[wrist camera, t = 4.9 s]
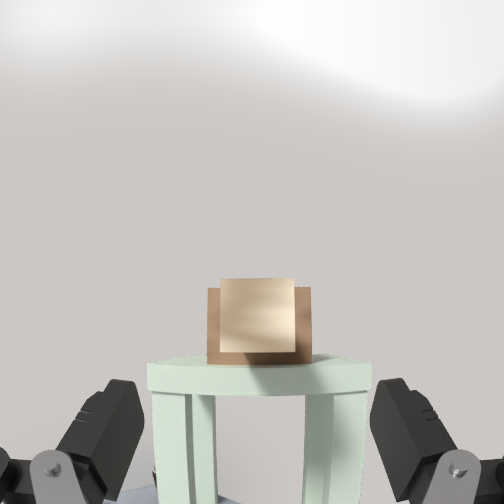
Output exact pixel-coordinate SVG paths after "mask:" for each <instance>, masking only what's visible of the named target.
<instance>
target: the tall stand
mask: <svg viewBox="0 0 504 504" xmlns="http://www.w3.org/2000/svg"><path fill="white" fill-rule="evenodd" d="M371 389H372V362H366V361H361V360H355V359H350V358H345V357H340V356H335V355H330V354H319V355H312V364H298V365H207V355H190V356H185V357H180V358H175V359H170V360H165V361H160V362H154V363H149V364H147V390H148V391H152V415H153V416H152V417H153V438H154V454H155V467H156V479H157V490H158V499H159V504H218V490H217V463H216V462H217V461H216V414H215V395H222V396H288V395H289V396H291V395H305V442H304V471H303V492H302V504H359V502H360V493H361V485H362V475H363V464H364V452H365V436H366V417H367V416H366V415H367V390H371Z"/></svg>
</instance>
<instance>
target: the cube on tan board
mask: <svg viewBox="0 0 504 504" xmlns="http://www.w3.org/2000/svg"><path fill="white" fill-rule="evenodd" d="M220 286H221V287H220V288H208V314H207V315H208V316H207V365H298V364H312V325H311V291H310V290H311V289H310V287H297V288H296V287H294V278H273V279H272V278H271V279H270V278H266V279H221V284H220Z"/></svg>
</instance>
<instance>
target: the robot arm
mask: <svg viewBox="0 0 504 504" xmlns="http://www.w3.org/2000/svg"><path fill="white" fill-rule="evenodd" d="M370 428H371V432H372V434H373V437H374V440H375V443H376V445H377V448H378V451H379V454H380V456H381V459H382V462H383V465H384V467H385V470H386V473H387V475H388V479H389V481H390V484H391V487H392V490H393V493H394V496H395V499H396V502H401V501H405V500H409V502H410V504H504V456H503V458H502V459H494V460H479V459H478V458H477V457H476V456H475V455H474V454H472V453H471V452H468V451H466V450H458V449H457V447H456V445H455V444H454V442H453V440H452V438H451V437H450V435H449V433H448V432H447V430H446V429H445V427H444V425H443V423H442V422H441V420H440V419H438V415H437V414H436V412H435V411H433V407H432V406H431V404H430V402H429V401H428V399H427V398H426V397H425V396H423V395H422V394H421V393H419V392H418V391H417V390H413V391H410V390H409V388H408V386H407V385H406V383H405V381H404V380H403V379H402V378H396V379H388V380H381V381H379V383H378V385H377V389H376V393H375V397H374V401H373V405H372V409H371V413H370ZM143 429H144V413H143V410H142V406H141V403H140V399H139V396H138V392H137V388H136V385H135V383H134V382H132V381H124V380H116V379H112V380H110V382H109V383H108V385H107V387H106V388H105V390H104V392H99V391H98V392H96V393H95V394H94V395H92V396H91V397H90V398H88V399H87V400H86V402H85V403H84V405H83V407H82V408H81V411H80V412H79V413H78V414H77V416H76V418H75V420H74V421H73V422H72V424H71V425H70V427H69V429H68V430H67V432H66V433H65V435H64V437H63V438H62V440H61V441H60V443H59V445H58V446H57V448H56V449H55V450H47V451H44V452H41V453H39V454H38V455H36V456H35V457H34V458H33V460H31V461H30V460H17V459H11V458H10V457H9V455H8V454H7V452H6V451H5V450H4V449H3V448H1V447H0V504H1V502H3V503H4V504H102V503H103V500H104V499H107V500H111V501H115V502H116V501H117V498H118V495H119V493H120V490H121V487H122V484H123V482H124V479H125V476H126V474H127V471H128V469H129V466H130V463H131V460H132V458H133V455H134V453H135V450H136V448H137V445H138V443H139V440H140V437H141V435H142V432H143Z"/></svg>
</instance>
